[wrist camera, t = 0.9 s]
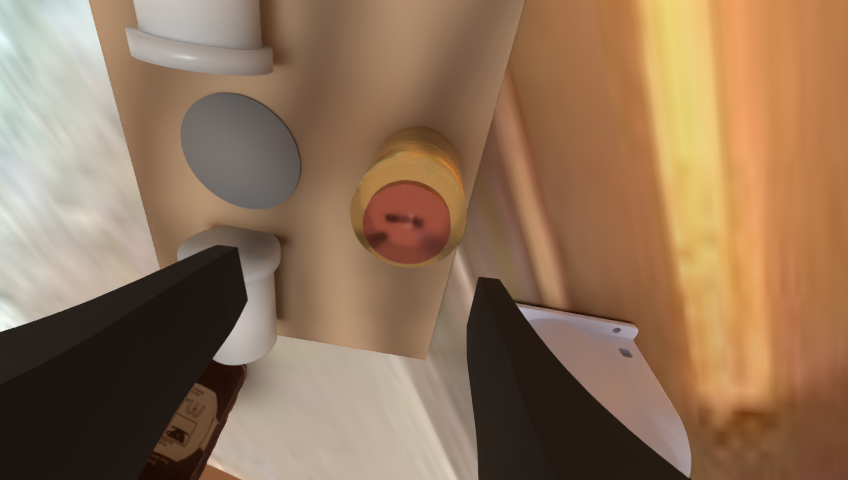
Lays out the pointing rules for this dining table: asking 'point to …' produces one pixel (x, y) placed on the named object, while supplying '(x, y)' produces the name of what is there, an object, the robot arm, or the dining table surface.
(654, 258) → the dining table surface
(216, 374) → the coffee cup
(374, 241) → the tan red-topped cylinder
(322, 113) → the board
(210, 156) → the flange seat
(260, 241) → the pipe stubs
